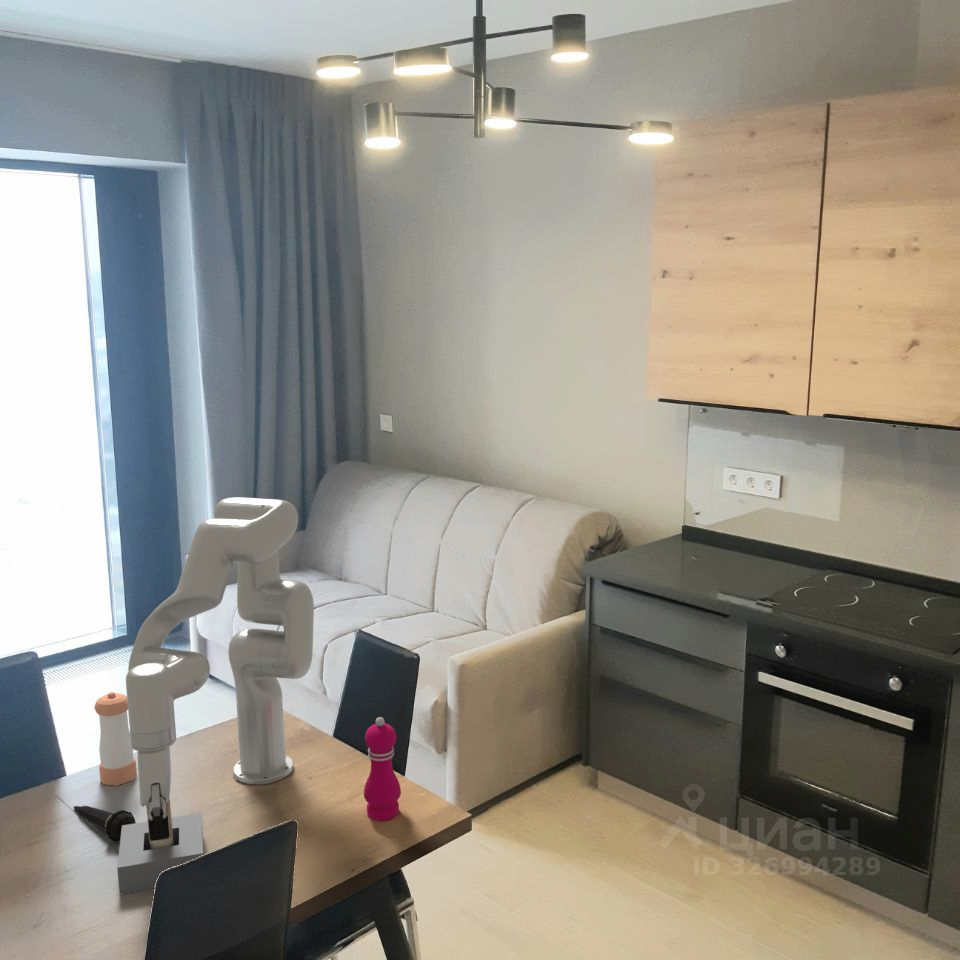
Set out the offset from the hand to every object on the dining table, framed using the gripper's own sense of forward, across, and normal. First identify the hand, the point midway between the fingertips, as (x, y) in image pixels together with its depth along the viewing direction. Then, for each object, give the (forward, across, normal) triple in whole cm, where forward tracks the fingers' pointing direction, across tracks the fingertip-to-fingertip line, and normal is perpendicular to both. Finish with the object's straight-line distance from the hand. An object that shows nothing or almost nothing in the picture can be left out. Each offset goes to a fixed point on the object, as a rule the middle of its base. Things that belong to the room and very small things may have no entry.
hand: (160, 824), depth 169 cm
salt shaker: (+8, -37, -10) cm, 39 cm away
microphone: (+8, -18, -11) cm, 22 cm away
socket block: (+8, 0, 0) cm, 8 cm away
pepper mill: (+8, -5, +41) cm, 42 cm away
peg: (+8, 0, 0) cm, 8 cm away
